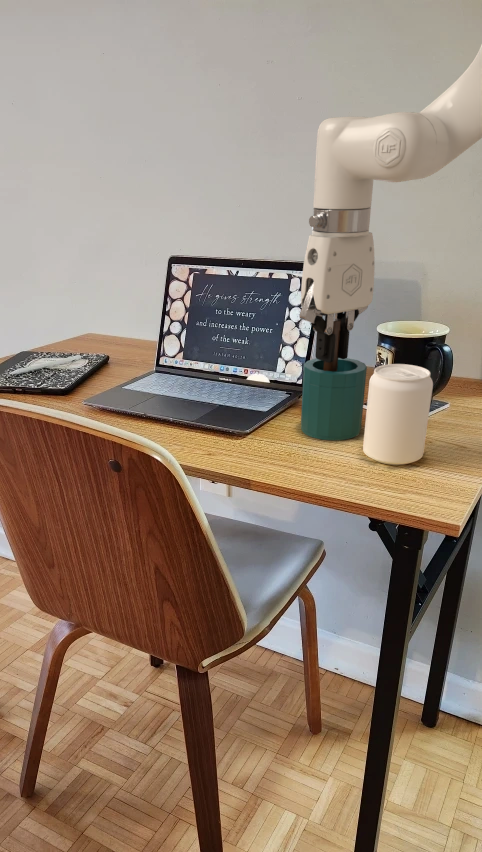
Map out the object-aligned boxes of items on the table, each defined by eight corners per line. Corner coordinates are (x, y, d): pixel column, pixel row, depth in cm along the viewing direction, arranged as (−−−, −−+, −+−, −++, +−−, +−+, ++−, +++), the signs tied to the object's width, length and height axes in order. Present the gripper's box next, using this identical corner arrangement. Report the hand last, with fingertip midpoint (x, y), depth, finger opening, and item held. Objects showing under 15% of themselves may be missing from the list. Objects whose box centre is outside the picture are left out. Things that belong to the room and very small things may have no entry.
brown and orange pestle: (342, 404, 104) (349, 318, 98) (336, 412, 101) (343, 323, 95) (319, 401, 105) (325, 316, 100) (312, 409, 103) (317, 321, 97)
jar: (366, 423, 106) (372, 360, 102) (352, 444, 99) (358, 376, 95) (310, 416, 110) (314, 354, 105) (293, 435, 103) (296, 370, 98)
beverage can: (391, 440, 100) (400, 359, 95) (435, 458, 94) (448, 373, 89) (350, 452, 96) (357, 369, 91) (393, 472, 90) (404, 384, 85)
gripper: (316, 229, 85) (308, 374, 93) (403, 220, 93) (388, 354, 101) (276, 225, 90) (272, 362, 99) (361, 217, 98) (351, 344, 107)
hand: (331, 357), depth 100 cm, fingers closed on brown and orange pestle, 2 cm apart
